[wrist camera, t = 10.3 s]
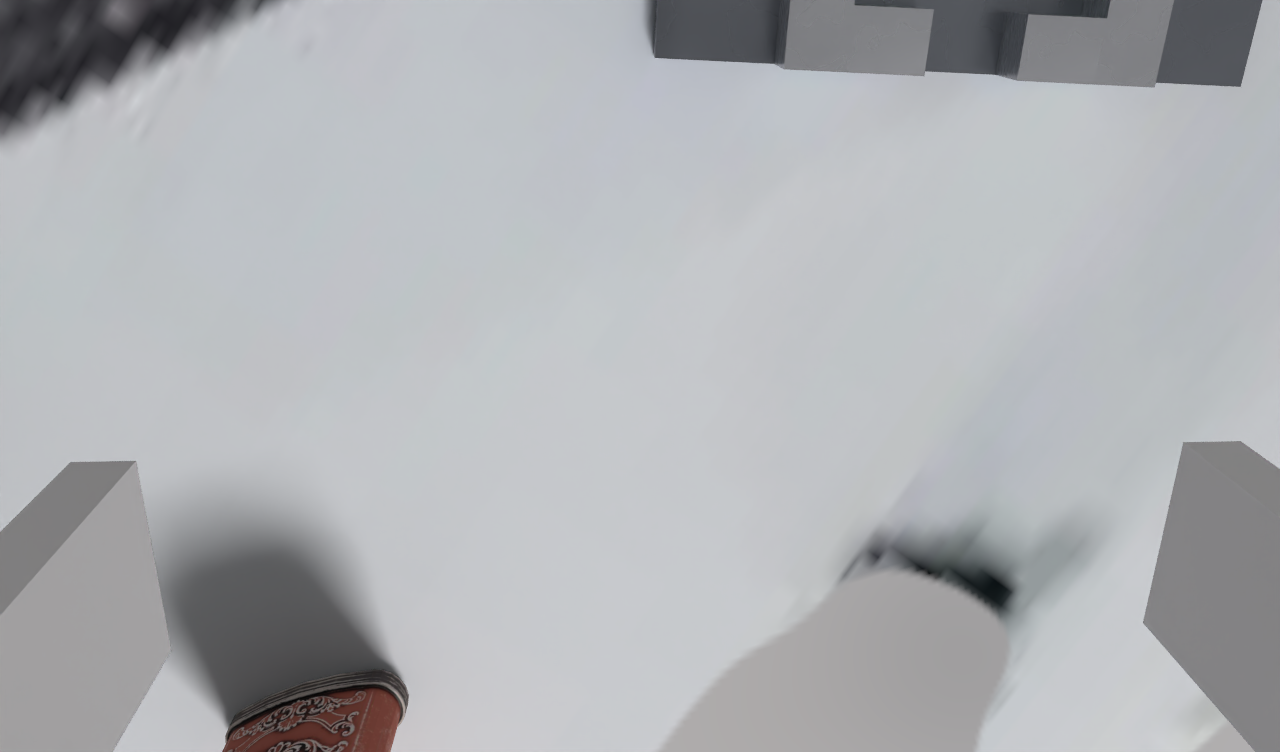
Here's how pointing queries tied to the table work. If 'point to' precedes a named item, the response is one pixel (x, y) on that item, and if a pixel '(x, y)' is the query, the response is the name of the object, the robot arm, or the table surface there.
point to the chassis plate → (973, 37)
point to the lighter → (324, 716)
